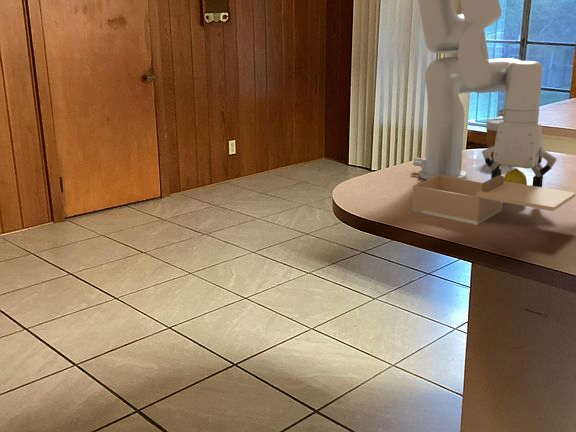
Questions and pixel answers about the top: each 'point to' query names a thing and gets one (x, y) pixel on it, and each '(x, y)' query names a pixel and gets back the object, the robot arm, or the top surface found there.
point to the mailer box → (453, 199)
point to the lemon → (515, 177)
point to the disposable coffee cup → (492, 132)
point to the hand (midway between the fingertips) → (515, 189)
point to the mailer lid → (523, 194)
